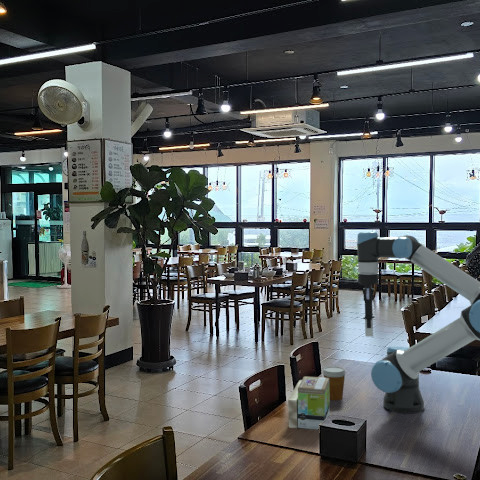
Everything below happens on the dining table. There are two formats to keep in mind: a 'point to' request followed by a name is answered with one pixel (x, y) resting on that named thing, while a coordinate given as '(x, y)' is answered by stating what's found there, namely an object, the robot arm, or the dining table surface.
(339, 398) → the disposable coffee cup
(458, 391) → the dining table surface
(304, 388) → the tea box
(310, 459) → the dining table surface
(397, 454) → the dining table surface
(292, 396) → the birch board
